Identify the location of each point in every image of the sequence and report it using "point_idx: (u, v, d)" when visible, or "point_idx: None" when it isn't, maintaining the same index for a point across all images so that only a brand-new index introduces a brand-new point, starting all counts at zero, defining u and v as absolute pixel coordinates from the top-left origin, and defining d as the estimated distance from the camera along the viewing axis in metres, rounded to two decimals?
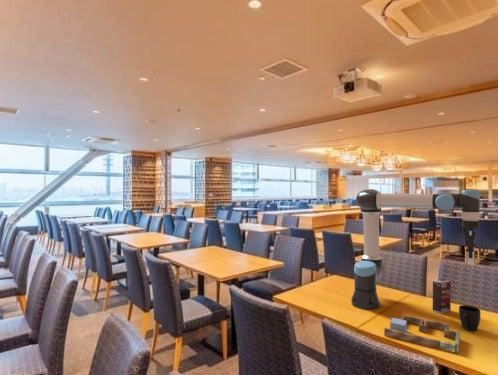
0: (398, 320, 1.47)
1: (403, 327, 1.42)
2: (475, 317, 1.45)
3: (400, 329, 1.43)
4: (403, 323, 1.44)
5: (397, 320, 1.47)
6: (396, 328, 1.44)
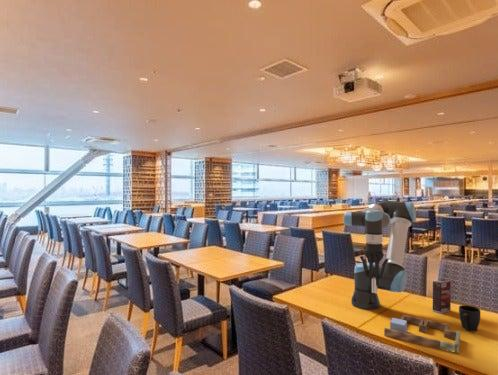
0: (398, 320, 1.47)
1: (403, 327, 1.42)
2: (475, 317, 1.45)
3: (400, 329, 1.43)
4: (403, 323, 1.44)
5: (397, 320, 1.47)
6: (396, 328, 1.44)
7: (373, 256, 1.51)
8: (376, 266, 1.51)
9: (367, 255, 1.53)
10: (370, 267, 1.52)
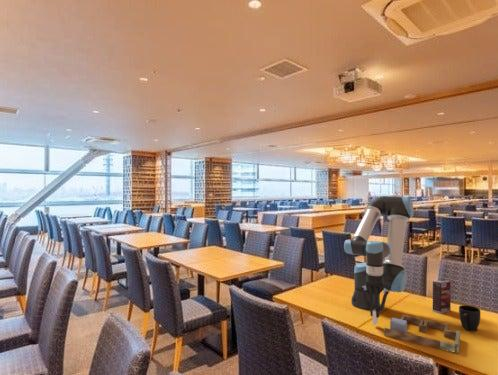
0: (398, 320, 1.47)
1: (403, 327, 1.42)
2: (475, 317, 1.45)
3: (400, 329, 1.43)
4: (403, 323, 1.44)
5: (397, 320, 1.47)
6: (396, 328, 1.44)
7: (374, 288, 1.51)
8: (376, 298, 1.51)
9: (368, 286, 1.53)
10: (371, 298, 1.52)
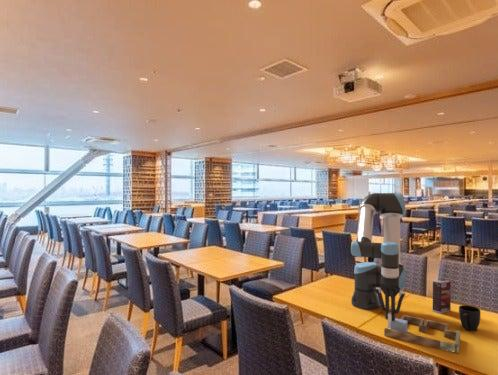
0: (398, 320, 1.47)
1: (403, 327, 1.42)
2: (475, 317, 1.45)
3: (400, 329, 1.43)
4: (403, 323, 1.44)
5: (398, 320, 1.47)
6: (396, 328, 1.44)
7: (389, 290, 1.47)
8: (392, 300, 1.47)
9: (383, 289, 1.49)
10: (386, 301, 1.48)
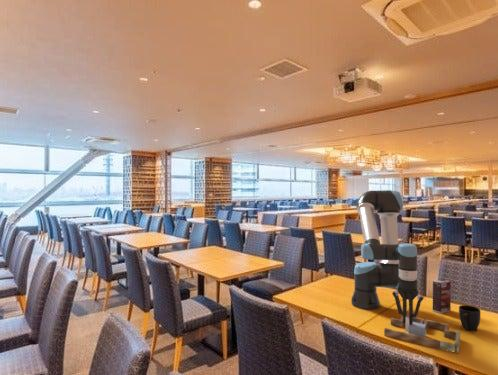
0: (416, 324, 1.43)
1: (422, 331, 1.38)
2: (475, 317, 1.45)
3: (419, 333, 1.39)
4: (422, 327, 1.40)
5: (415, 324, 1.43)
6: (415, 332, 1.40)
7: (407, 293, 1.43)
8: (410, 304, 1.42)
9: (400, 291, 1.45)
10: (404, 304, 1.44)
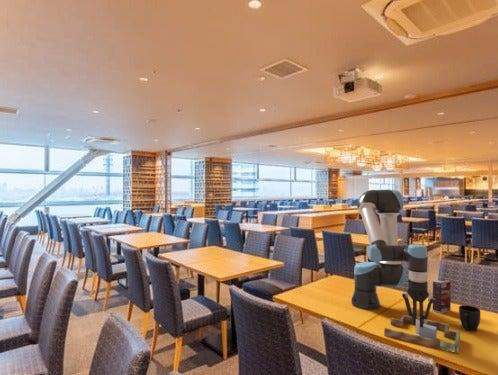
0: (427, 326, 1.40)
1: (433, 334, 1.36)
2: (475, 317, 1.45)
3: (430, 336, 1.36)
4: (433, 329, 1.37)
5: (426, 326, 1.41)
6: (425, 334, 1.37)
7: (417, 295, 1.41)
8: (420, 306, 1.40)
9: (410, 293, 1.42)
10: (414, 306, 1.41)
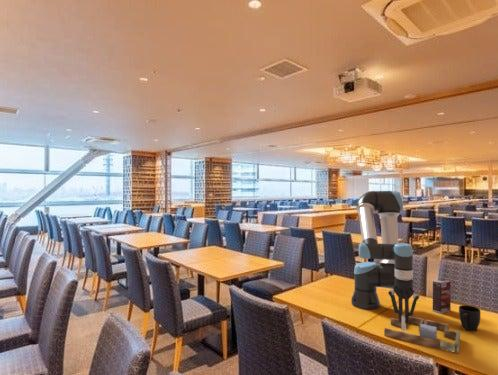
0: (427, 327, 1.40)
1: (434, 334, 1.36)
2: (475, 317, 1.45)
3: (430, 336, 1.36)
4: (433, 330, 1.37)
5: (426, 326, 1.41)
6: (426, 335, 1.37)
7: (403, 292, 1.44)
8: (406, 303, 1.44)
9: (396, 291, 1.46)
10: (399, 304, 1.45)
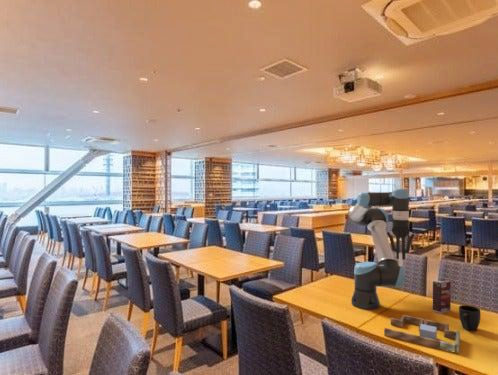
0: (427, 327, 1.40)
1: (434, 334, 1.36)
2: (475, 317, 1.45)
3: (430, 336, 1.36)
4: (433, 330, 1.37)
5: (426, 326, 1.41)
6: (426, 335, 1.37)
7: (400, 232, 1.61)
8: (402, 241, 1.60)
9: (394, 231, 1.63)
10: (397, 242, 1.62)
